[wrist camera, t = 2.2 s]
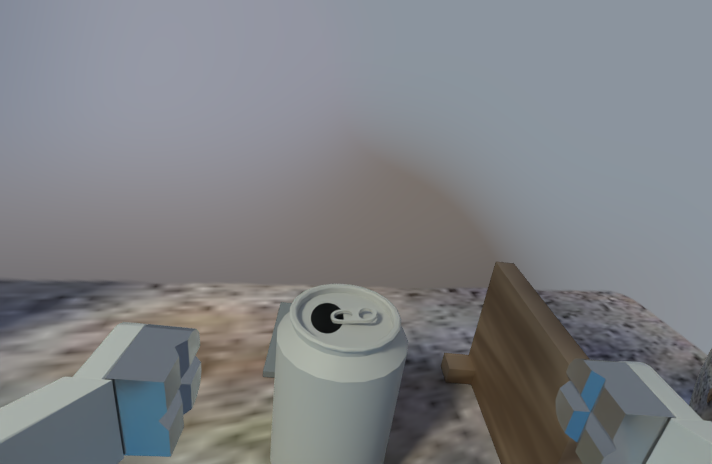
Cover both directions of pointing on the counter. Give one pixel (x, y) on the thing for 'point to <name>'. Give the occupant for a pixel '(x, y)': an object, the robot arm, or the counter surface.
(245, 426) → the counter surface
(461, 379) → the walnut screen
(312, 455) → the can
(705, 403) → the beer glass
